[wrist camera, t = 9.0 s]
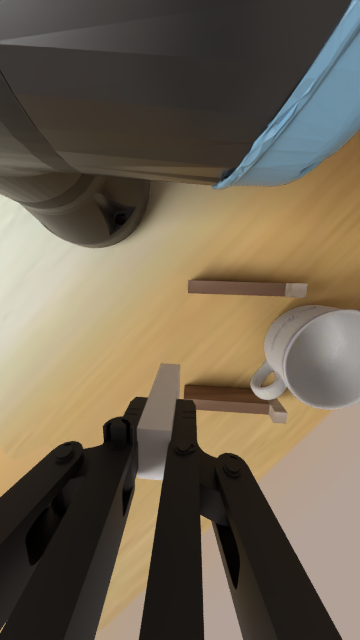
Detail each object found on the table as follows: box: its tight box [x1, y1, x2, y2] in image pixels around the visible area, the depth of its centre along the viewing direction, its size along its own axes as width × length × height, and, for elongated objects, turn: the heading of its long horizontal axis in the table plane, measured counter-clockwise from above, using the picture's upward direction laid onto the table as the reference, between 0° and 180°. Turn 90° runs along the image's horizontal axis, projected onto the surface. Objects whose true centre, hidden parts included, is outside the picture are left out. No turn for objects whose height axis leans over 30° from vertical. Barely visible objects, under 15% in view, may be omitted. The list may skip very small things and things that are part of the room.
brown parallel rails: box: [184, 280, 308, 424], centre depth 24 cm, size 17×13×5 cm
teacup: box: [250, 305, 360, 410], centre depth 23 cm, size 14×11×8 cm
